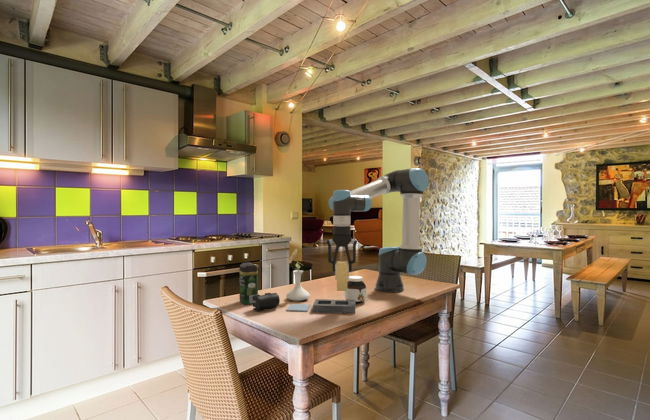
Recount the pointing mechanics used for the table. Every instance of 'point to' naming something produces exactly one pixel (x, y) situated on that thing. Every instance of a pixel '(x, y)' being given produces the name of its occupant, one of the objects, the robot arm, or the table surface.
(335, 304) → the steel socket block
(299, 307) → the slate pad
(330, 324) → the table surface
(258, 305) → the end cap
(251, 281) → the coffee jar
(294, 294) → the flower in vase
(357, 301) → the spread jar
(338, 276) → the brass peg
